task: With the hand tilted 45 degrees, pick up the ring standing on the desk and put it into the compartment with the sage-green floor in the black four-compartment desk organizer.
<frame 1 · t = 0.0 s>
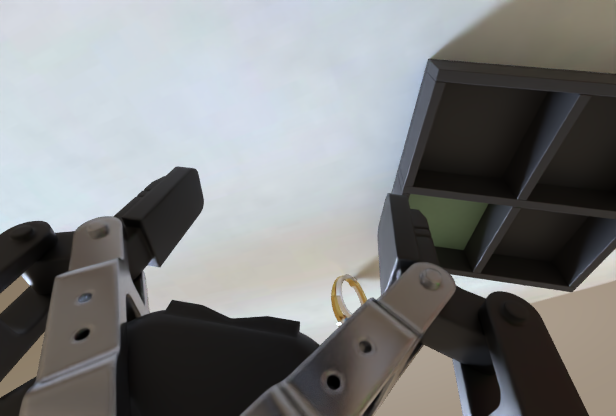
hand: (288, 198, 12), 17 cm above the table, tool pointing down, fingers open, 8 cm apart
organizer: (501, 179, 28), on the table
ring: (353, 277, 40), on the table
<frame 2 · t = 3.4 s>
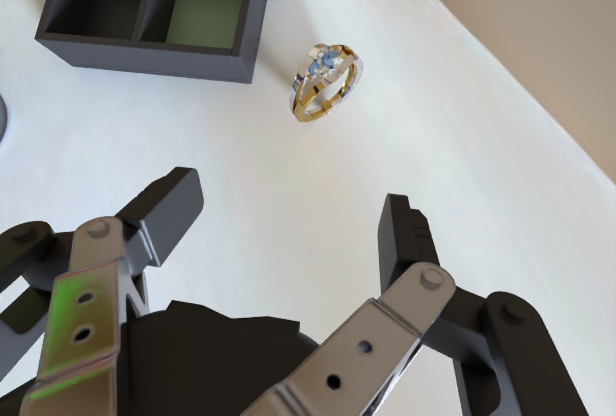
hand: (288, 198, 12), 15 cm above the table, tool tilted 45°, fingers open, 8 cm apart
ring: (326, 111, 28), on the table
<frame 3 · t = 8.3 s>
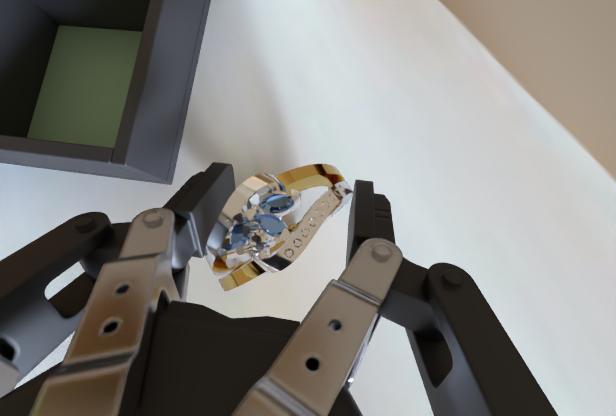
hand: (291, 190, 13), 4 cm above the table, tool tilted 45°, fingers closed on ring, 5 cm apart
organizer: (65, 27, 20), on the table
ring: (295, 235, 17), on the table, touching gripper
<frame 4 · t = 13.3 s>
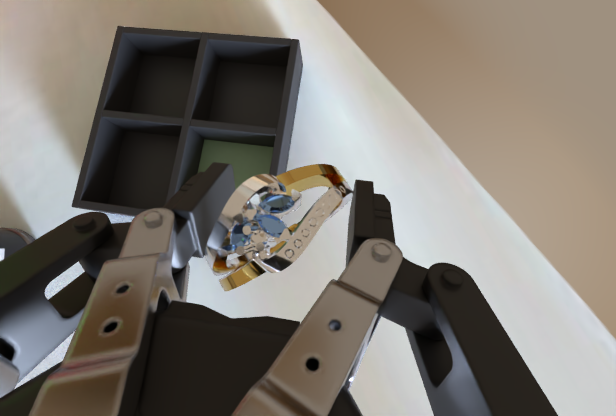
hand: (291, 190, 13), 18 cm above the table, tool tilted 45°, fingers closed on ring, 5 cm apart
organizer: (204, 137, 33), on the table
ring: (295, 235, 17), point 13 cm above the table, touching gripper
when the fingers open (5 cm above the table, at t = 18.8 s): ring stays where it is, resting on organizer.
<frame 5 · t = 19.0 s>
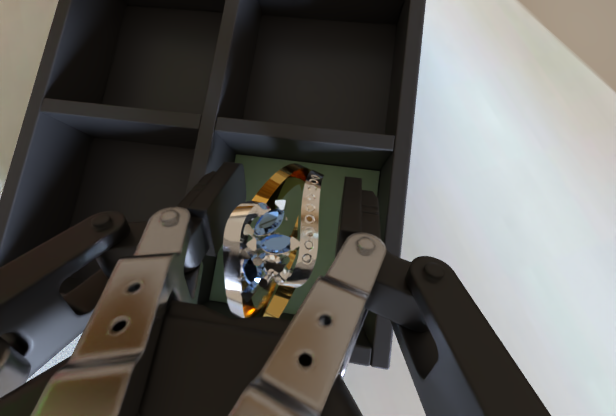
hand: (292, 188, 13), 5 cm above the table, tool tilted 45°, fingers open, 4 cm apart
organizer: (234, 150, 18), on the table
ring: (295, 245, 17), point 1 cm above the table, touching organizer
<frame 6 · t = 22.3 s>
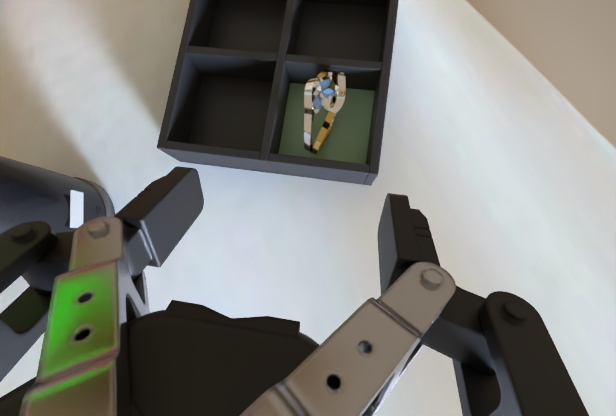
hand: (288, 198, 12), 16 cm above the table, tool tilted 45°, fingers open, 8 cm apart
organizer: (287, 82, 30), on the table
ring: (326, 133, 29), point 1 cm above the table, touching organizer
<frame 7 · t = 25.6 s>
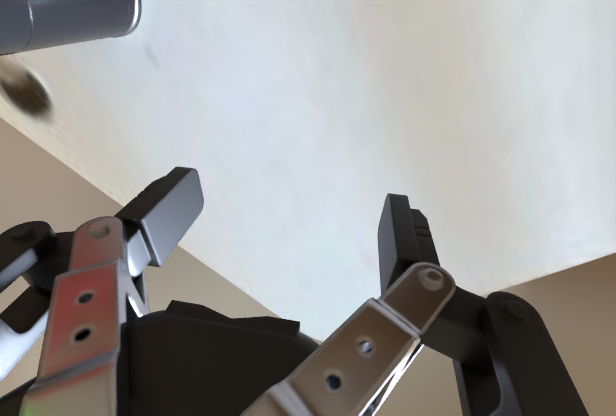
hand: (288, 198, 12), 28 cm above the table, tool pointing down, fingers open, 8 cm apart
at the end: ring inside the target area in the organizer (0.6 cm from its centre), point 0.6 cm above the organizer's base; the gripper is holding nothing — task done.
